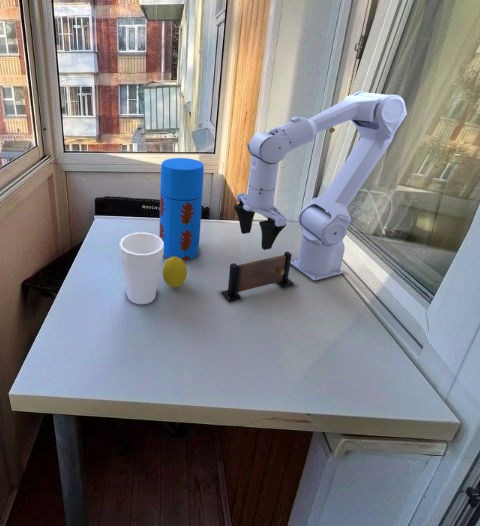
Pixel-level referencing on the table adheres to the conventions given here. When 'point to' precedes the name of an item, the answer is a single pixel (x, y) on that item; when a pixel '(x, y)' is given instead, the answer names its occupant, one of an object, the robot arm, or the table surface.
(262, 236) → the robot arm
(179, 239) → the thermos
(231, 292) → the door frame
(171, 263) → the lemon
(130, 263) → the foam cup
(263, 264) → the door
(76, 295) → the table surface
